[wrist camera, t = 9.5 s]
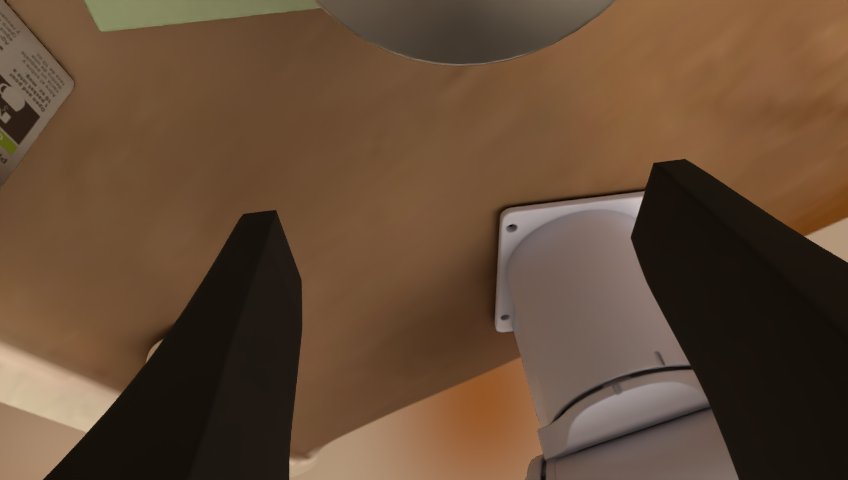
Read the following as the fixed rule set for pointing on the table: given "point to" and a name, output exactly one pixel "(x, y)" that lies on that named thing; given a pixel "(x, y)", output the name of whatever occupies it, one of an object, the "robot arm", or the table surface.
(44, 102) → the coffee box
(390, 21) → the canister
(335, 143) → the table surface
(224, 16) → the shelf
